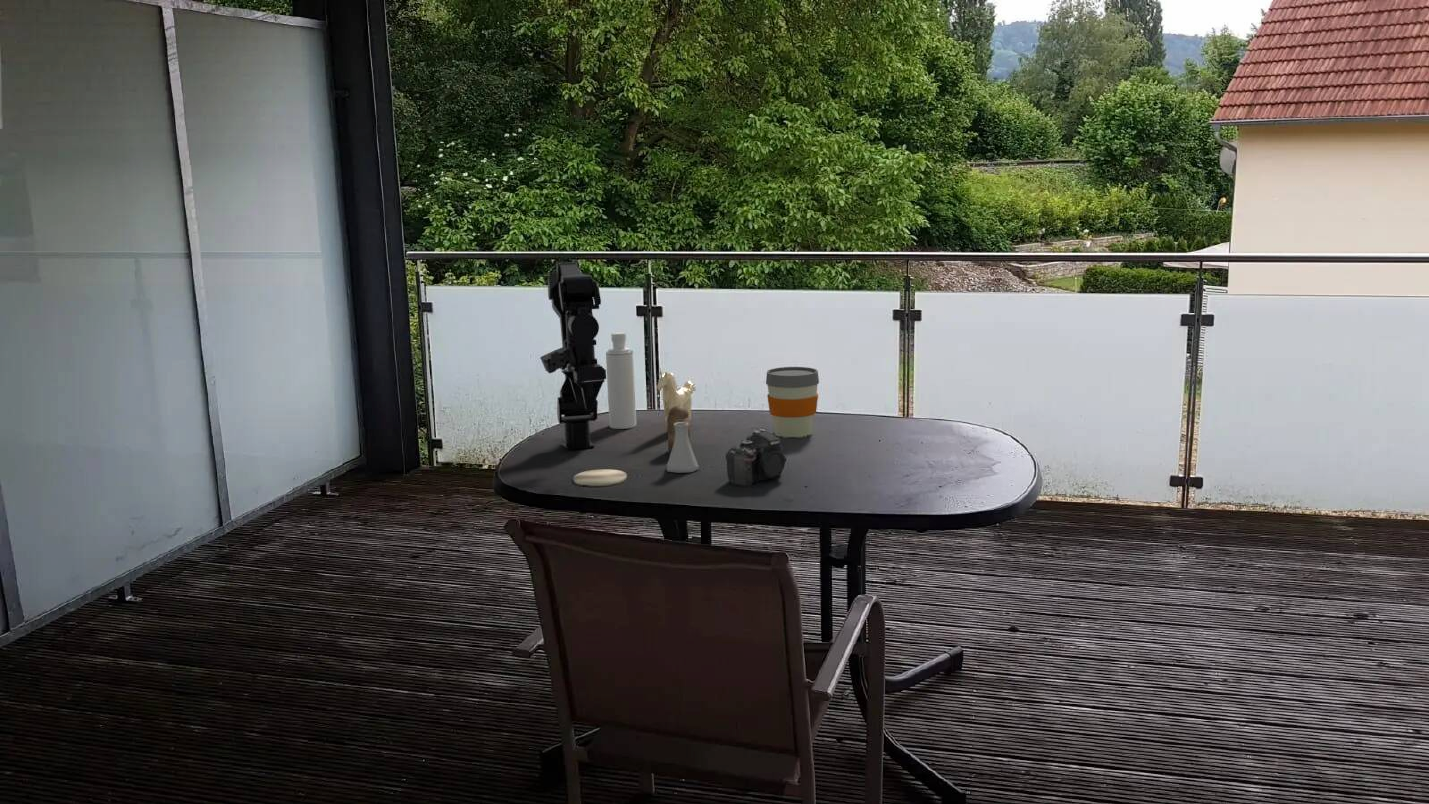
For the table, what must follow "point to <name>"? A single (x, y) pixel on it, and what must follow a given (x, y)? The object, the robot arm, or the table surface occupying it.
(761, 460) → the camera
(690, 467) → the flask
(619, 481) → the coaster
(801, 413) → the reusable coffee cup
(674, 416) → the pepper shaker
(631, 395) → the spray bottle
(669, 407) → the unicorn
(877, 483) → the table surface
